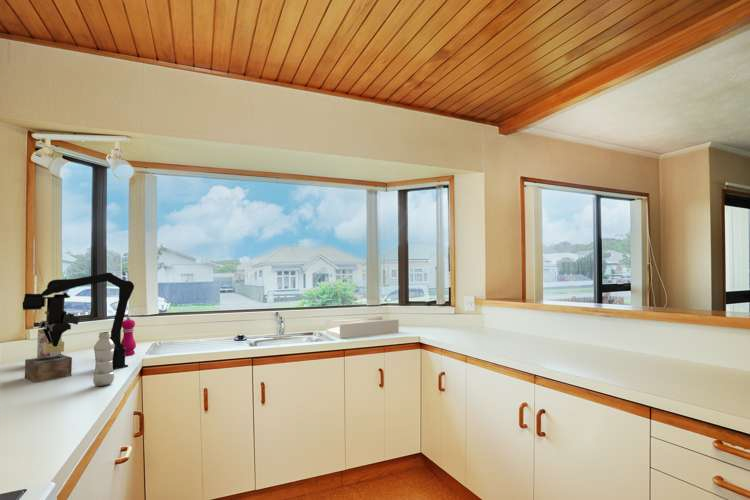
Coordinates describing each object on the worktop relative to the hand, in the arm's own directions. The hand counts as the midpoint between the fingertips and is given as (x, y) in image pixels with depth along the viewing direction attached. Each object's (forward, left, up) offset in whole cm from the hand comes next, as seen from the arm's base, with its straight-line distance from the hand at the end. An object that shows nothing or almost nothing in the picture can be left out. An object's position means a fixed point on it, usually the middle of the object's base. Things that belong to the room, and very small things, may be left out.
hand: (53, 345), depth 162 cm
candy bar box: (+26, -6, -12) cm, 30 cm away
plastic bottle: (-35, -5, -12) cm, 38 cm away
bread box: (-49, -157, -13) cm, 165 cm away
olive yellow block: (0, 0, -3) cm, 2 cm away
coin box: (-2, +2, -12) cm, 12 cm away
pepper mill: (+16, -36, -12) cm, 41 cm away
